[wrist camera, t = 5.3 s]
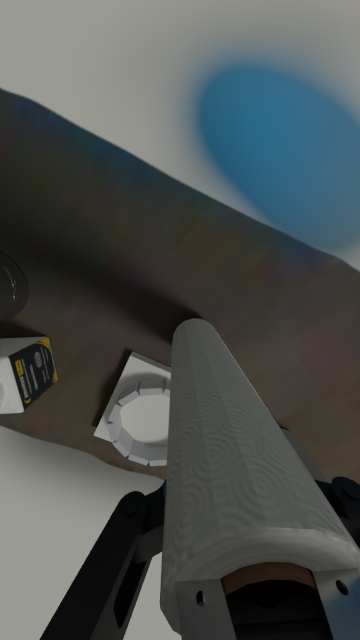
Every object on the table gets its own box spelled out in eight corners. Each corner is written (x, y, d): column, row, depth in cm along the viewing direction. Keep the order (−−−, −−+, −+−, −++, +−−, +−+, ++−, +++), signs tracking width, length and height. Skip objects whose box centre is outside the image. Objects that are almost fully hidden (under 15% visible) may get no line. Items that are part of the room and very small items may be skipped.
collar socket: (97, 427, 31) (86, 449, 27) (132, 351, 28) (125, 364, 24) (179, 458, 33) (180, 483, 29) (222, 390, 30) (228, 407, 26)
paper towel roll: (170, 319, 25) (143, 551, 4) (216, 315, 25) (402, 527, 4) (175, 368, 27) (174, 694, 6) (218, 364, 27) (357, 678, 6)
